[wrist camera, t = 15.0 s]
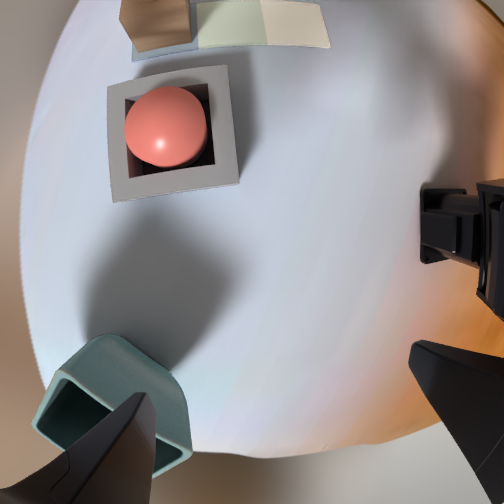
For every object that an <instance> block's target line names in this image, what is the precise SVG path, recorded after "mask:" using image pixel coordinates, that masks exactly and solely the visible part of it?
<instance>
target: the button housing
mask: <svg viewBox="0 0 504 504" xmlns="http://www.w3.org/2000/svg"><path fill="white" fill-rule="evenodd" d="M170 86H172V87H178V88H182V89H185V90H187V91H189V92H190V93H192V94H193V95H194V96H195V97H196V98H197V99H198V100H199V102H200V101H208V100H209V103H210V114H211V125H212V135H213V145H214V155H215V165H207V166H199V167H192V168H185V169H179V170H173V171H166V172H161V173H155V174H149V175H144V176H143V166H142V160H141V159H140V158H138V157H137V156H136V155H134V154H133V153H132V151H131V150H130V149H129V147H128V145H127V143H126V139H125V134H124V126H125V121H126V117H127V115H128V112H129V111H130V109H131V107H132V106H133V104H134V103H135V102H136V101H137V100H138V99H139V98H140V97H141V96H143V95H144V94H146V93H147V92H149V91H151V90H154V89H156V88H160V87H170ZM107 139H108V158H109V171H110V182H111V191H112V200H113V203H115V202H123V201H132V200H137V199H143V198H148V197H154V196H160V195H166V194H173V193H179V192H186V191H193V190H200V189H208V188H216V187H224V186H232V185H237V184H239V174H238V164H237V155H236V146H235V136H234V127H233V117H232V108H231V98H230V88H229V79H228V69H227V64H225V65H214V66H205V67H197V68H190V69H183V70H177V71H171V72H166V73H161V74H156V75H151V76H147V77H142V78H138V79H134V80H130V81H126V82H122V83H119V84H115V85H112V86H108V87H107Z"/></svg>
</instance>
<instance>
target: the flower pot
mask: <svg viewBox="0 0 504 504" xmlns="http://www.w3.org/2000/svg"><path fill="white" fill-rule="evenodd" d="M134 392H147V393H148V394H149V396H150V399H151V401H152V403H153V406H154V408H155V410H156V445H155V460H154V467H153V475H152V479H153V478H154V477H156V476H158V475H160V474H162V473H163V472H165V471H167V470H169V469H170V468H172V467H174V466H175V465H177V464H179V463H181V462H183V461H184V460H186V459H188V458H189V457H190V456H191V455H192V454H193V449H192V441H191V432H190V423H189V415H188V407H187V402H186V399H185V396H184V393H183V391H182V389H181V387H180V385H179V384H178V382H177V381H176V380H175V378H174V377H173V376H172V375H171V374H170V373H169V372H168V371H167V369H165V368H164V367H163V366H161V365H160V364H158V363H157V362H155V361H154V360H152V359H151V358H150V357H148V356H147V355H145V354H144V353H143V352H141V351H140V350H139V349H137V348H136V347H135V346H133V345H132V344H131V343H130V342H128V341H127V340H126V339H124V338H123V337H121V336H118V335H113V334H105V335H100V336H98V337H96V338H94V339H92V340H91V341H89V342H88V343H87V344H86V345H84V346H83V347H82V348H81V349H80V350H79V351H78V352H77V353H75V354H74V355H73V356H72V357H71V358H70V359H69V360H68V361H67V362H66V363H64V364H63V365H62V366H61V367H60V368H59V369H58V370H57V371H56V372H55V374H54V376H53V378H52V380H51V382H50V385H49V386H48V389H47V390H46V393H45V395H44V397H43V399H42V401H41V403H40V405H39V407H38V409H37V411H36V413H35V416H34V418H33V420H32V422H31V425H32V427H33V428H34V429H35V430H36V431H37V432H38V433H40V434H41V435H42V436H43V437H44V438H46V439H47V440H48V441H50V442H51V443H53V444H54V445H55V446H57V447H58V448H60V449H61V450H63V451H65V450H67V449H68V448H69V447H70V446H72V445H73V444H74V443H75V442H76V441H78V440H79V439H80V438H81V437H82V436H84V435H85V434H86V433H87V432H88V431H90V430H91V429H92V428H93V427H94V426H96V425H97V424H98V423H99V422H100V421H102V420H103V419H104V418H105V417H106V416H107V415H109V414H110V413H111V412H112V411H113V410H115V409H116V408H117V407H118V406H119V405H120V404H122V403H123V402H124V401H125V400H126V399H127V398H128V397H130V396H131V395H132V394H133V393H134Z"/></svg>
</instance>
